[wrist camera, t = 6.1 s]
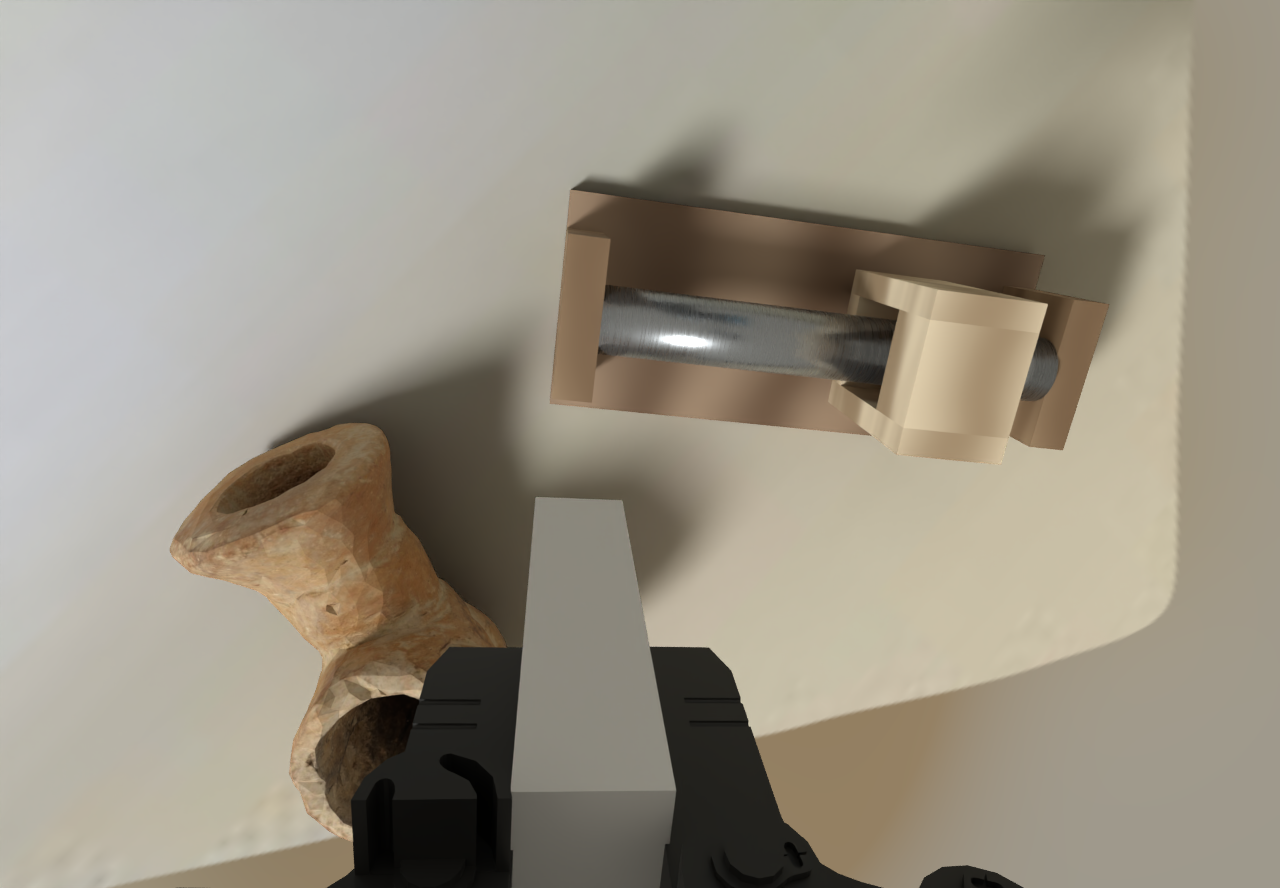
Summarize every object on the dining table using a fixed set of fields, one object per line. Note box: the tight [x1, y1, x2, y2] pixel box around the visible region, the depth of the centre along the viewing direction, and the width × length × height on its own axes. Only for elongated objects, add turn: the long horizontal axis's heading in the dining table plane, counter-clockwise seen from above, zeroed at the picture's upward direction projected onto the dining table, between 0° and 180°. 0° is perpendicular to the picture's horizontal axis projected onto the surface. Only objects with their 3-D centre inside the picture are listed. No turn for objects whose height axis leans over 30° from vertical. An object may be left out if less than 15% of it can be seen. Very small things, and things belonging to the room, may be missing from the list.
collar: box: [828, 269, 1048, 465], centre depth 29 cm, size 4×6×7 cm
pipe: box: [170, 423, 507, 842], centre depth 31 cm, size 9×16×10 cm, turn 28°
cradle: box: [550, 190, 1109, 450], centre depth 31 cm, size 21×9×6 cm, turn 82°
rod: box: [598, 285, 1058, 402], centre depth 29 cm, size 18×3×3 cm, turn 82°
